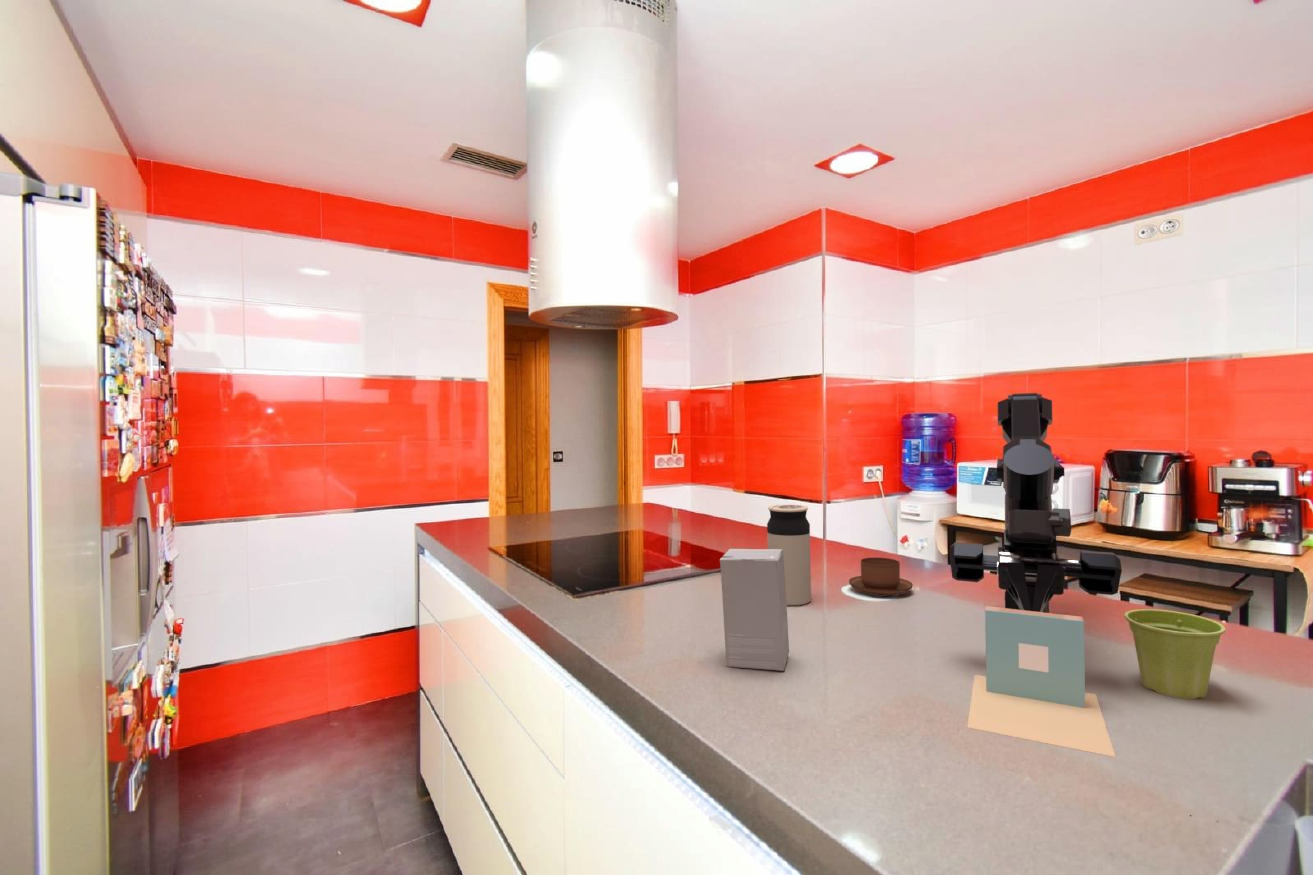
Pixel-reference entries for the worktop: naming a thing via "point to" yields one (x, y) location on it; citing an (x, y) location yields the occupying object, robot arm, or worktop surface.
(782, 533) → the travel mug
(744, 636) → the skincare box
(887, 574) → the cup and saucer
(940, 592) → the worktop surface
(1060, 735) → the cork mat
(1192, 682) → the plant pot
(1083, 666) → the tile
